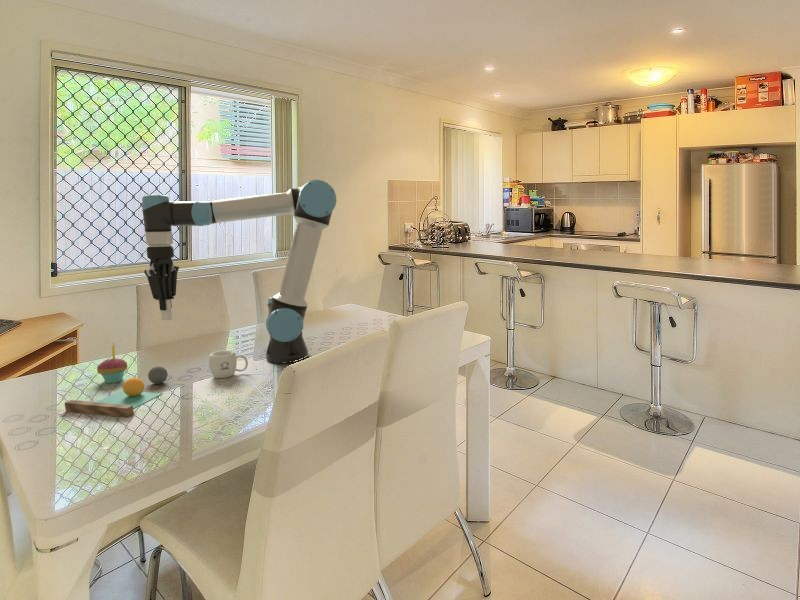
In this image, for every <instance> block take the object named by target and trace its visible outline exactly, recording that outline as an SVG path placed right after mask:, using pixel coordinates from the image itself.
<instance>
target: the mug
mask: <svg viewBox="0 0 800 600" xmlns="http://www.w3.org/2000/svg"><path fill="white" fill-rule="evenodd" d="M239 358H242V359H244V362H245V366H244V367H243V368H242V369H238V368H237V363H238V362H237V359H239ZM208 365H209V370H210V373H211V375H212V376H213V378H215V379H228V378H231V377H232V376H234V375H235V372H244V371H246V370H247V369H248V366H249V362H248V359H247V357H246V356H244V355H242V354H239V355H236V352H235V351H233V350H229V349H228V350H225V349H224V350H216V351H213V352H211V353H210V354H209V357H208Z"/></svg>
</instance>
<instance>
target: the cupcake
mask: <svg viewBox="0 0 800 600" xmlns="http://www.w3.org/2000/svg"><path fill="white" fill-rule="evenodd" d="M115 348H116V347H115V344H114V342H113V343H112V345H111V350H112V354H111V355H112V356H111V357H112V358H110V359H106V360H103V361H102V362H100V363H99V365H97V367H96V371H97V374H100V375H101V377H102V378H103V379H104V381H105V383H108V384H113V383H117V382H118V383H119V382H121V381H123V378H124V374H125V372H126V370H128V362H127V361H125V360H124V359H121V358H118V357H117V358H116V350H115Z"/></svg>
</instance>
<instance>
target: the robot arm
mask: <svg viewBox="0 0 800 600" xmlns="http://www.w3.org/2000/svg"><path fill="white" fill-rule="evenodd" d="M141 202H142V203H141V204H142V205H141V206H142V209H141V212H142V216H143V225H144V235H145V244H146V246H147V247H146V256H147V259H149V261H150V262H149V267H148V269H145V270H144V273H143V274H145V276H146V277H147V278H146V279H147V281H148V284H149V287H150V290H151V291H150V292H151V294H152V298H153V299H154V300H155V301H158V303H159V304H158V305H159V310H160V314H161V315H160V317H161V320H162V321H172V320H173V313H172V308H173V306H172V300H173V299H175V296H176V294H177V281H178V280H177V279H178V272H179V269H180V267H179V266H178V265H174V261H173V260H172V259H173V258H174V257H175V253H174V252H175V251H174V246H173V244H174V239H173V232H172V231H173V230H172V227H178V226H179V227H181V226H182V227H191V226H192V227H196V226H197V227H203V226H210V225H213V224H214V225H215V224H219V223H227V222H236V221H245V220H252V219H260V218H267V217H269V218H270V217H276V216H278V217H279V216H284V215H285V216H286V215H291V216H293V217H294V219H295V221H296V226H295V228H294V234H293V236H292V241H291V245H290V249H289V252H288V256H287V260H286V264H285V268H284V272H283V275H282V279H281V284H280V286H279V292H278V293H276V294H275V295H273V296H271V297H269V298H268V299H267V305H266V306H267V310H268V311H267V312H268V313H267V314H268V315H267V318H266V321H265V327H266V331H267V332H268V335H269V341H268V345H267V348H266V352H265V360H266V359H267V360H268V361H267V360H266V361H267V362H269V361H270V362H269V363H272V362H274V363H273V364H284V363H283V362H290V361H291V362H293V361H295V360H298V361H299V359H301V358H303V359H304V360H306V359H307V358H306V357H305V356H307V355H308V356H309V350H308V347H307V345H306V341H305V339H304V337H303V329H304V319H305V316H306V313H307V309H308V303H307V301H306V299H305V298H306V296H307V295H306V294H307V290H308V286H309V282H310V279H311V276H312V273H313V272H312V271H313V268H314V264H315V260H316V257H317V253H318V248H319V245H320V242H321V237H322V234H323V230H325V229H327V228H328V227H329V225H330V222H331V217H332V214H333V211H334V210H335V208H336V205H337V194H336V192H335V189H334V188H333V186H331V184H329V183H328V182H326V181H324V180H320V179H312V180H311V179H310V180H308V181H307V182H305V183H304V184H303V185H302V186H299V187H294V188H290V189H289V190H287V191H286V192H278V193H267V194H261V195H259V194H258V195H252V196H243V197H235V198H234V197H233V198H226V199H219V200H218V199H217V200H210V201H209V200H207V201H202V200H196V201H195V200H193V201H190V200H189V201H188V200H187V201H172V200H170V197H169V196H168V195H166V194H146V195H143V196H142V198H141ZM304 357H305V358H306V359H305V358H304ZM303 359H301V360H302V361H304V360H303ZM299 362H300V361H299ZM295 363H297V361H296V362H295Z"/></svg>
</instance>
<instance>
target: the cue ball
mask: <svg viewBox="0 0 800 600" xmlns="http://www.w3.org/2000/svg"><path fill="white" fill-rule="evenodd" d="M168 376H169V375H168V371H167V369H166V368H165V367H163V366H160V365H158V366H154V367H152V368H151V369H150V370H148V373H147V378H148V380H149V382H151V383H152V384H155V385H159V384H162V383H164V382H166V380H167V378H168Z"/></svg>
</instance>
